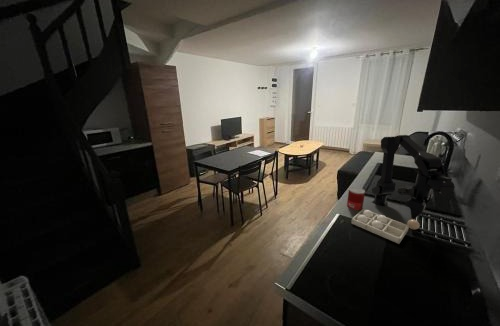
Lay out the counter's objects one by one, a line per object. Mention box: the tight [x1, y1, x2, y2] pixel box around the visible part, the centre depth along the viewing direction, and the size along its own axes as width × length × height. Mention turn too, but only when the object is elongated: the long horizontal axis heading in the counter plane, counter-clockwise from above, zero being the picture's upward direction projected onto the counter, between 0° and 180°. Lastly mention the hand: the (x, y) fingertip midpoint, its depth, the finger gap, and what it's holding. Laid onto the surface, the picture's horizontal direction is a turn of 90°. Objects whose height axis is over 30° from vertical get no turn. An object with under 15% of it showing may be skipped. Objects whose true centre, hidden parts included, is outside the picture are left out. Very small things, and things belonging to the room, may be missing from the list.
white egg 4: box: [377, 214, 388, 224], centre depth 100 cm, size 5×5×5 cm
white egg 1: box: [357, 215, 368, 224], centre depth 101 cm, size 5×5×5 cm
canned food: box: [346, 186, 366, 211], centre depth 115 cm, size 8×8×11 cm
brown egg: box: [406, 218, 421, 230], centre depth 97 cm, size 5×5×5 cm
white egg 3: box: [371, 220, 383, 230], centre depth 96 cm, size 5×5×5 cm
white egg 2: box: [363, 209, 374, 218], centre depth 105 cm, size 5×5×5 cm
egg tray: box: [351, 208, 410, 245], centre depth 99 cm, size 14×20×3 cm
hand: (415, 214), depth 95 cm, fingers open, 9 cm apart
